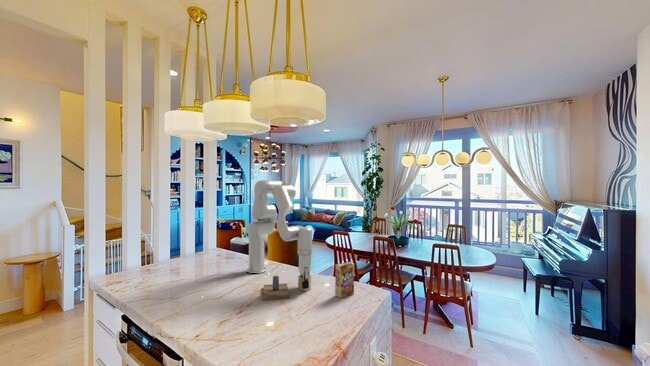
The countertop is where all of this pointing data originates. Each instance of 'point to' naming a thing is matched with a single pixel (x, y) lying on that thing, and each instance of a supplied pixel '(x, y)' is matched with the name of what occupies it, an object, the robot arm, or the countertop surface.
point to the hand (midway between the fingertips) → (304, 285)
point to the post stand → (275, 290)
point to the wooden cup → (300, 279)
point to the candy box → (344, 279)
